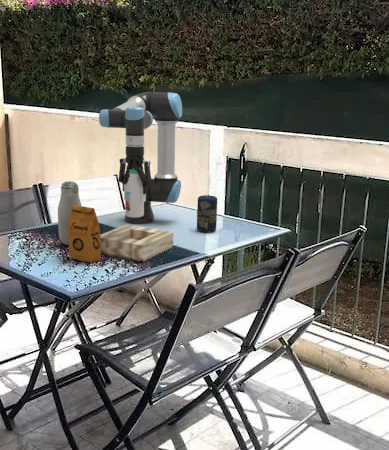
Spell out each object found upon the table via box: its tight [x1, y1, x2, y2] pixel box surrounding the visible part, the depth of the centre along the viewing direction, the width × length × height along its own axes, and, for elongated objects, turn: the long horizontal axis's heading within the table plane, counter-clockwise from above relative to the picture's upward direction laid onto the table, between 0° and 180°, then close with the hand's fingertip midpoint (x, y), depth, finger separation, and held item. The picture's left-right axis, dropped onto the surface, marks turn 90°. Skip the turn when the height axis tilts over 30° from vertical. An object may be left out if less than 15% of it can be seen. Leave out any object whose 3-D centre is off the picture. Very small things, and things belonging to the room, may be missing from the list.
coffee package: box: [68, 205, 102, 264], centre depth 227 cm, size 10×12×22 cm
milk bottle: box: [124, 168, 144, 218], centre depth 237 cm, size 8×8×20 cm
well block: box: [100, 223, 174, 263], centre depth 243 cm, size 24×24×7 cm
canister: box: [196, 194, 218, 233], centre depth 275 cm, size 10×10×18 cm
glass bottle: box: [57, 181, 82, 246], centre depth 245 cm, size 10×10×28 cm
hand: (134, 200), depth 238 cm, fingers closed on milk bottle, 7 cm apart
